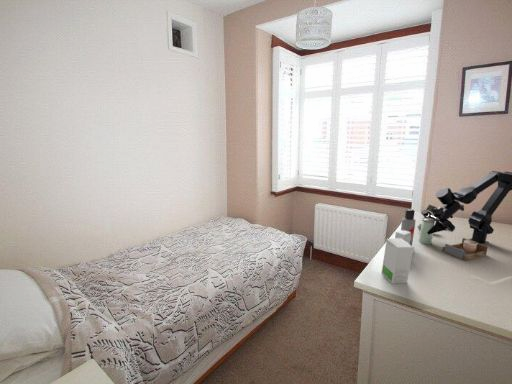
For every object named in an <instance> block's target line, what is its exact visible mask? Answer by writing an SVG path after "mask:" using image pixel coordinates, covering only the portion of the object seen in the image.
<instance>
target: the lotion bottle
mask: <svg viewBox="0 0 512 384" xmlns="http://www.w3.org/2000/svg"><path fill="white" fill-rule="evenodd" d="M415 229H416V219H415V209H412V208H409V209H405V214H404V217H402V219H401V227H400V231H401V230H405V231H409V232H411V238H410V245H411V246H412V247H413V241H414V235H415V234H414V233H415Z"/></svg>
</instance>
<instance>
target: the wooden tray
mask: <svg viewBox="0 0 512 384" xmlns="http://www.w3.org/2000/svg"><path fill="white" fill-rule="evenodd" d="M464 240H469V238H468V239H467V238H465V237H462V241H461V242H458V243H455V244H450V245H451V246H453V247H456V248H458V249H461V250H462V249H463V244H464ZM488 249H489V247H488V245H485V244H480V243H478V244H477V248H476V253H474V254H468V253H465V254H464V258H463V259H461V258H458V257H456V256H454V255H451V254H449V253H447V252H444V250H445V246H443V247H441V252H443V253H445V254H447V255H449V256H452V257H454V258H457V259H459V260H462V261H464V262H466V261H470V260H475V259H478V258H481V257H485V256H487V252H488Z"/></svg>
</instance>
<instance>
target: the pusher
mask: <svg viewBox="0 0 512 384" xmlns="http://www.w3.org/2000/svg"><path fill="white" fill-rule="evenodd" d="M451 245H452V244H448V243H445V245H444V247H445V250H444V252H443V253H445V252H447V253H449V254H451V255H450V256H452V255H454V256H456V257H455V258H457V257H458V258H457V259H459V258H461V259H463V258H464V254H465V251H464V250H461V249H458V248H456V247H453V246H451ZM447 253H446V254H447ZM449 254H448V255H449ZM454 256H453V257H454ZM461 259H460V260H461Z"/></svg>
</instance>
